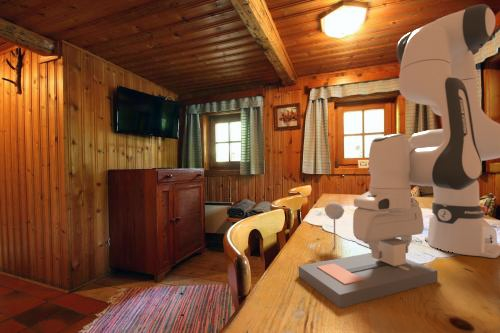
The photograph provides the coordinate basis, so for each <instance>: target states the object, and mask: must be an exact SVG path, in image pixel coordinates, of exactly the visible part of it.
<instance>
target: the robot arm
mask: <svg viewBox="0 0 500 333" xmlns="http://www.w3.org/2000/svg"><path fill="white" fill-rule="evenodd" d="M495 26H496V16H495V14H494V12H493V11H492V9H491V7H490V6H489V5H487V4H485V3H482V4H475V5H472V6H468V7H466V8H465V9H462V10H459V11H457V12H453V13H449V14H448V15H447V14H446V15H445V16H441V17H440V18H437V19H435V20H434V21H432V22H430V23H427V24H425V25H423V26H421V27H419V28H417V29H415V30H412V31H410V32H408V33H407V34H405V35H403V36H402V37H401V38H400V40H399V41H398V43H397V45H396V58H397V61H398V63H399V64H400V69H399V76H398V77H399V78H398V90H399V94H401V96H402V97H403V98H404V99H405V100H407V101H409V102H411V103H413V104H417V105H422V106H423V105H424V106H430V108H431V111H432V112H433V113H434V114H435V115H437V116H440V117H441V126H442V128H438V129H437V128H436V129H427V130H424V131H419V132H417V133H413V134H412V135H411V136H410V137H409V139H408V137H407V135H406V134H404V133H394V134H387V135H382V136H378V137H377V136H376V137H375V138H374V139H373V140H372V141H371V143H370V147H369V151H368V152H369V154H368V171H369V174H370V175H369V176H370V182H369V187H368V192H366V191H365V193H363V194H361V195H358V196H357V197H355V198H354V199H353V206H354V207H355V210H354V211H353V214H352V215H353V217H352V229H353V230H352V233H353V235H354V237H355V238H356V240H359V241H361V242H365V243H367V245H368V247H369V248H370V250H371V253H372V257H373V258H376V259H379V258H382V251H380V250H379V248H378V246H377V245H379V240H385V239H392V238H397V239H400V238H401V240H404V241H406V254H408V253H409V246H410V244H411V242H412V240H413V237H412V236H416V235H421V234H423V232H424V230H425V227H424V218H423V211H422V209H421V207H420V204H419V201H417V199H416V198H415V197H412V187H411V186H412V185H413V186H420V187H432V190H433V202H432V204H431V205H432V206H431V209H432V210H431V212H432V214H433V215H432V216H431V217H430V218H429V221H428V230H427V231H428V232H427V236H425V237H424V240H426V241H425V242H427V243H428V245H429V246H430V247H432V248H435V249H437V248H438V250H440V249H441V250H440V251H443V252H444V251H445V252H448V251H449V252H448V253H452V252H453V254H457V255H466V256H472V257H473V256H474V257H475V256H476V257H483V258H491V259H496V258H498V257H499V256H500V243H499V242H498V233H497V230H496V228H495V227H493V226H492V225H491V224H490V223H489V222H487V221H486V220H485V219H484V217H485V216H484V213H487V212H488V208H487V206H486V205H481V204H480V183H479V181H478V180H479V178H480V177H481V175H482V172H483V163H482V161H489V160H495V159H500V123H498V122H497V121H494V120H493V119H491V118H490V117H489V116H488V115H487V114H486V113H485V112H484V111H483V109H482V107H481V105H480V102H479V97H478V96H479V95H478V83H477V81H478V79H477V68H476V61H475V59H474V55H476V54H477V53H478V52H479V50H480V48H482V47H483V46H485V45H486V44H487V43H488V41H489V40H491V37H492V36H493V33H494V30H495Z"/></svg>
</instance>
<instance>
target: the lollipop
mask: <svg viewBox="0 0 500 333" xmlns="http://www.w3.org/2000/svg"><path fill="white" fill-rule="evenodd" d="M324 212H325V215H326V216H327V217H328V218H329V219H331V220H333V246H334V248H336V220H339V219H341V218H342V217H343V215H344V213H345V209H344V206H343V205H342V204H341V203H340V202H338V201H329V202H328V203H327V204H326V206H325V207H324Z"/></svg>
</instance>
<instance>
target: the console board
mask: <svg viewBox="0 0 500 333" xmlns="http://www.w3.org/2000/svg"><path fill="white" fill-rule="evenodd" d="M297 270H298V277H299V278H300V279H302V280H303V281H304V282H305V283H306V284H308V285H309V286H311V288H313V289H314V290H316V291H317V292H319V294H321V295H323V297H325V298H326V299H327V300H329V301H330V302H331V303H333V304H334V305H335V306H336V307H338V308H339V309H342V308H345V307H349V306H353V305H357V304H360V303H364V302H368V301H371V300H374V299H379V298H381V297H382V298H383V297H387V296H390V295H393V294H398V293H401V292H404V291H408V290H412V289H415V288H420V287H422V286H426V285H430V284H434V283H437V282H438V281H439V280H438V279H439V277H438V269H436V268H435V269H434V268H431V267H429V266H426V265H424V264H421V263H418V262H416V261H413V260H410V259H407V258H406V264H401V265H397V266H393V265H390V264H388V263H385V262H383V261H381V260H378V259H376V258H373V257H372V252H370V253H369V252H368V253H363V254H357V255H352V256H351V255H350V256H346V257H341V258H335V259H329V260H323V261H318V262H314V263H313V262H312V263H306V264H302V265H298V269H297Z"/></svg>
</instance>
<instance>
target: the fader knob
mask: <svg viewBox="0 0 500 333" xmlns="http://www.w3.org/2000/svg"><path fill="white" fill-rule="evenodd" d="M377 246H378V248H379V250H380V251H382V258H379V259H378V260H381V261H383V262H385V263H388V264H390V265H393V266H397V265H401V264H406V259H407V256H406V255H407V253H406V241H404V240H401V239H400V238H392V239H385V240H379V245H377Z"/></svg>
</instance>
